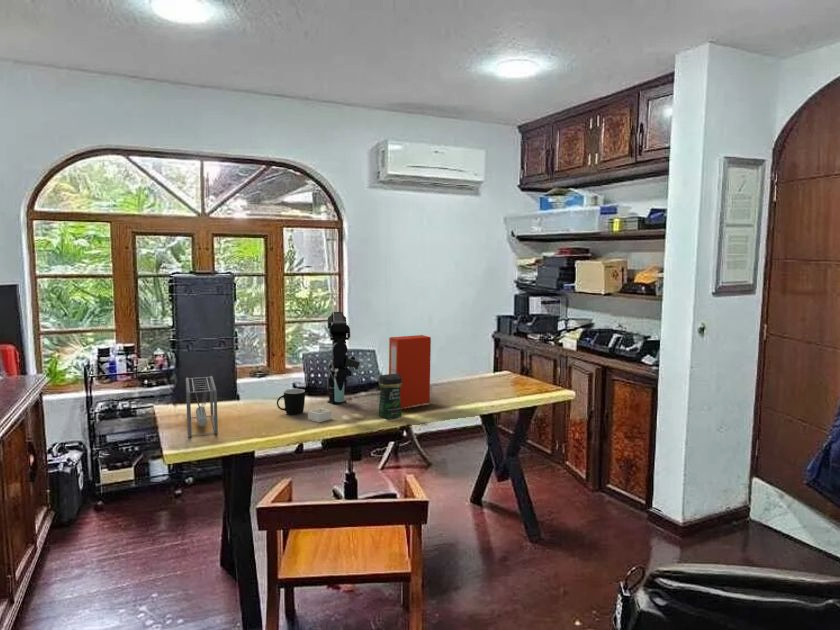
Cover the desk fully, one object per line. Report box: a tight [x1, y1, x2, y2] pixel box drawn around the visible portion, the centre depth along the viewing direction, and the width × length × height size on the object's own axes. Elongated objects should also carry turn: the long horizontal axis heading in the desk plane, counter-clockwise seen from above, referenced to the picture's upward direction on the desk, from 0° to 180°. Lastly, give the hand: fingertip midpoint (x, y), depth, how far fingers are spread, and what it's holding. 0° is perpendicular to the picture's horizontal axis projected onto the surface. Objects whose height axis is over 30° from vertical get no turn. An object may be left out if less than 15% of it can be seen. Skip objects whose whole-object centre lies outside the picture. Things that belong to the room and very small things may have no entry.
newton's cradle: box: [185, 375, 219, 438], centre depth 234 cm, size 30×10×18 cm, turn 23°
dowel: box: [334, 377, 345, 402], centre depth 245 cm, size 4×4×11 cm
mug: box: [276, 388, 306, 416], centre depth 253 cm, size 12×9×10 cm
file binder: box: [388, 334, 432, 408], centre depth 267 cm, size 8×17×32 cm, turn 121°
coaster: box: [341, 413, 366, 422], centre depth 248 cm, size 10×10×1 cm
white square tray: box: [307, 407, 332, 423], centre depth 245 cm, size 7×7×4 cm
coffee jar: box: [377, 373, 402, 420], centre depth 250 cm, size 10×8×19 cm
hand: (339, 389), depth 245 cm, fingers closed on dowel, 4 cm apart
